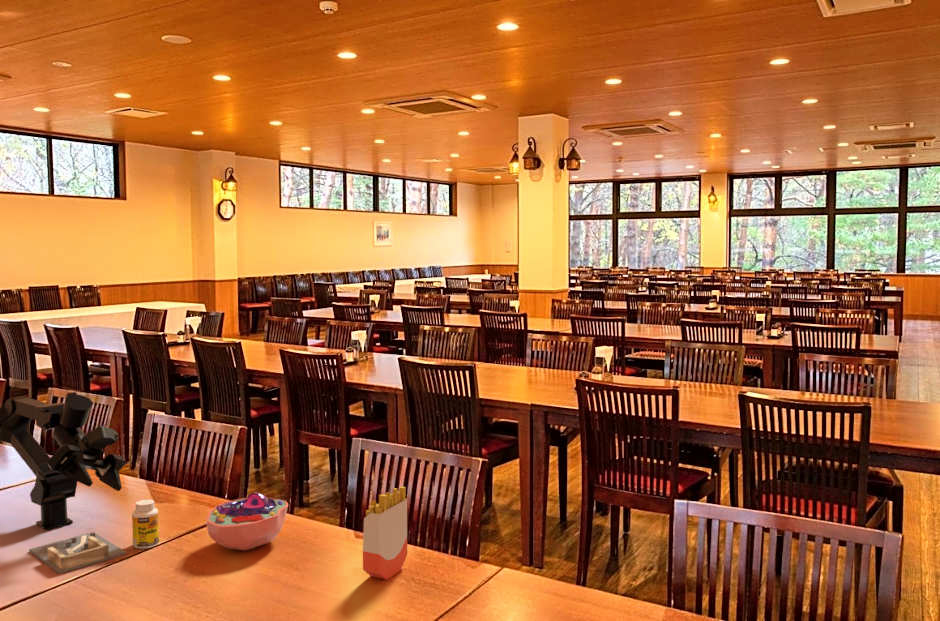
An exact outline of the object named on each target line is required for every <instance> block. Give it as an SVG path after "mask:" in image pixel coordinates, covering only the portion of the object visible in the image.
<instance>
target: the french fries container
mask: <svg viewBox="0 0 940 621" xmlns="http://www.w3.org/2000/svg"><path fill="white" fill-rule="evenodd" d="M406 489H407V487H406V486H399V487H398V488H396V487H395V488H392V493H391V492H385V494H384V493H382V494H379V497H378V500H379V501H378V502H379V503H377V500H370V503H369V504H370V506H369V509H367V510H365V517H364V518H363V531H362V532H363V533H362V534H363V535H362V537H363V539H362V570H363V571H364V572H365V573H366V574H368V576H370V577H373V578H377V579H381V580H386V581H388V580H389V579H390V578H392V577H393V576H395V575H397V573H399V572H400V571H401V570H402V568H403V566H404V563H405V561H406V558H407V556H408V498H406V491H407V490H406Z"/></svg>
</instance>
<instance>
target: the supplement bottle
mask: <svg viewBox="0 0 940 621" xmlns="http://www.w3.org/2000/svg"><path fill="white" fill-rule="evenodd" d="M131 516H132V517H131V519H132V521H131V524H132V545H133V548H135V549H138V550H145V549H146V550H148V549H151V548H154V547H156V546H158V544H159V542H160V535H159V534H160V532H159V530H160V527H159V524H160V523H159V522H160V521H159V510H158V508H157V507H155V500H153V499H142V500H138V501H135V509H134V510H133V511H132V514H131Z"/></svg>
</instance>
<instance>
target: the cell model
mask: <svg viewBox="0 0 940 621" xmlns="http://www.w3.org/2000/svg"><path fill="white" fill-rule="evenodd" d="M288 507H289V503H288V502H287V501H286V500H284V499H281V498H276V497H275V498H273V497H267V496H266V495H264V494H263V493H261V492H257V491H256V492H252V493H249V494H248V495H247V496H246V497H239V498H237V499H233V500H230V501H227V502H226V501H225V502H223V503H219V504H218V505H216V506H215V507H213V508H212V509H211V510H210V511H209V512H208V513H207V517H206V530H207V535H208V536H209V537H210V539H212V541H214V542H215V543H217V544H218V545H220V546H222V547H224V548H225V549H231V550H238V551H248V550H252V549H254V548H256V547H260V546H263V545H266V544H268V543H270V542H273V541H274V540H275V539H276V537H277V536H278V535H279V534H280V532H281V530H282V528H283V526H284V523H285V519H286V515H287V512H288Z"/></svg>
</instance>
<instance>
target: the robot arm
mask: <svg viewBox="0 0 940 621" xmlns="http://www.w3.org/2000/svg"><path fill="white" fill-rule="evenodd" d="M92 406H93V401H92V399H91V398H90V397H87V396H85V395H81V394H78V393H76V391H73V392H69V393H66V395H65V401H64V402H57V403H47V402H44V401H40V400H38V399H34V398H31V397H30V396H27V395H23V396H14V397H10V398H9V399H6V401H5V403H4V404H3V405H2V406H1V407H0V442H3V443H6V444H9V445H11V446H12V447H13V449H14V450H15V451H16V452H17V454H18V456H20V458H21V459H22V460H23V461H24V463H25V464H26V465H27V467H28V468H29V469H30V470H31V472H32V473H33V475H35V483H34V486H33V488H32V489H31V491H30V493H29V497H30V501H31V503H33V504H35V505H38V506H40V520H38V521H35V522H36V523H35V524H36V525H37V526H39V527H40V528H42V529H44V530H45V531H47V530H51V529H54V528H55V529H56V528H59V527H62V526H66V525H70V524H73V523H74V521H73V520H72V519H71V518H69V517H68V504H67V502H68V501H67V499H68V498H69V499H70V498H74V497H76V492H77V486H78V483H80V484H83V485H85V486H87V487H91V486H92V485H93V483H94V482H93V480H92V477H91V476H90V474H89V472H88V470H91V471H94V475H95V476H96V477H97V478H98V480H99V481H100V482H102V483H104V484H105V485H107V487H110V488H111V489H114V491H117V492H120V491H121V490H122V488H123V487H122V481H121V477H120V471H121V470H122V468H123V467H124V466H125V465H126V464H127V460H126V459H125V458H124V457H123V456H122V455H118V454H114V453H113V454H112V453H111V454H107V455H106V457H105V458H103V460H100V459H99V458H100V456H102V455H103V454H104V452H105V450H104V448H107V447H108V446H112V445H114V444H116V443H117V442H118V441H119V433H117V431H116V430H115V429H113V428H111V427H108V426H107V427H106V426H97V427H96V428H93V429H92V430H90V431H89V432H87V433H84V430H82V428H83V427H84V426H85V425H86V424H87V421H88V418H89V415H90V411H91V409H92ZM32 420H33V421H35V425H36V426H37V427H38V428H39V429H41V430H43V431H49V430H53V431H52V440H51V442H52V443H51V444H52V445H53V446H57V445H59V446H60V447H59V448H58V449H57V450H56V451H55V452H54V454H52V456H49V454H48V453H47V452H46V450H45V449H44V448H43V447H42V446H41V445H40V443H39V442H38V441H37V440H36V438H35V437H34V436H33V435H32V434H31V432H30V431H29V425H30V423H31V421H32Z"/></svg>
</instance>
